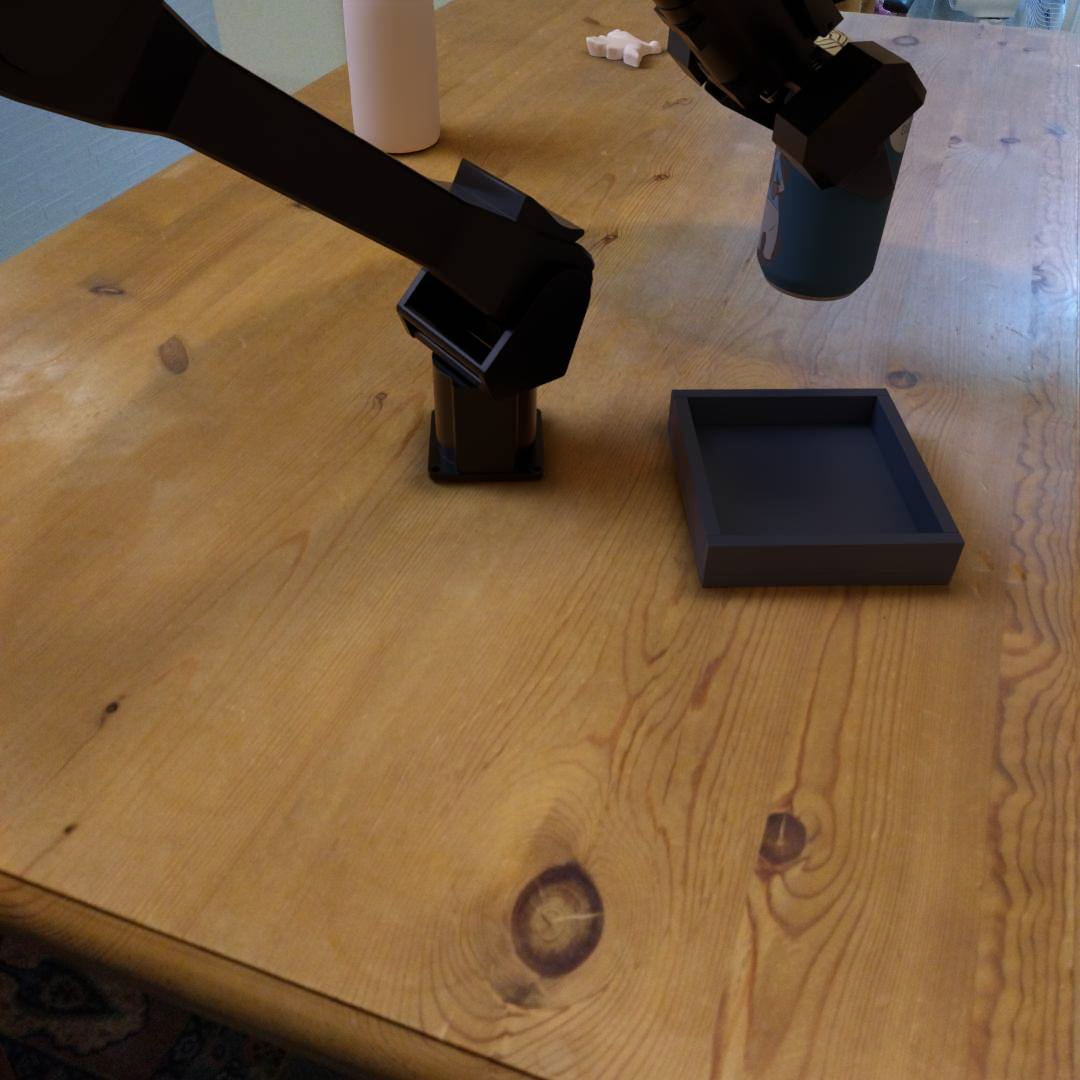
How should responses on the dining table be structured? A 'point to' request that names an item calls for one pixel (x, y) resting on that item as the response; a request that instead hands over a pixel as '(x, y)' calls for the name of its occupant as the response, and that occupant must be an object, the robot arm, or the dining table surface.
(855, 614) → the dining table surface
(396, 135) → the milk bottle
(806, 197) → the soda can
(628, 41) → the acanthus leaf ornament
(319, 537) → the dining table surface
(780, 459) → the tray
